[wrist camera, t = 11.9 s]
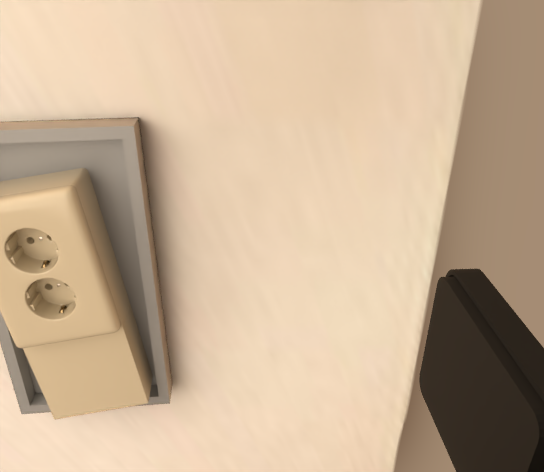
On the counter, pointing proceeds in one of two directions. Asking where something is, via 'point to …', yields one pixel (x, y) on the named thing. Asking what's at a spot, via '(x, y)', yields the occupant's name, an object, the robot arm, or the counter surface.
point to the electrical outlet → (68, 296)
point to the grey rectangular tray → (118, 220)
